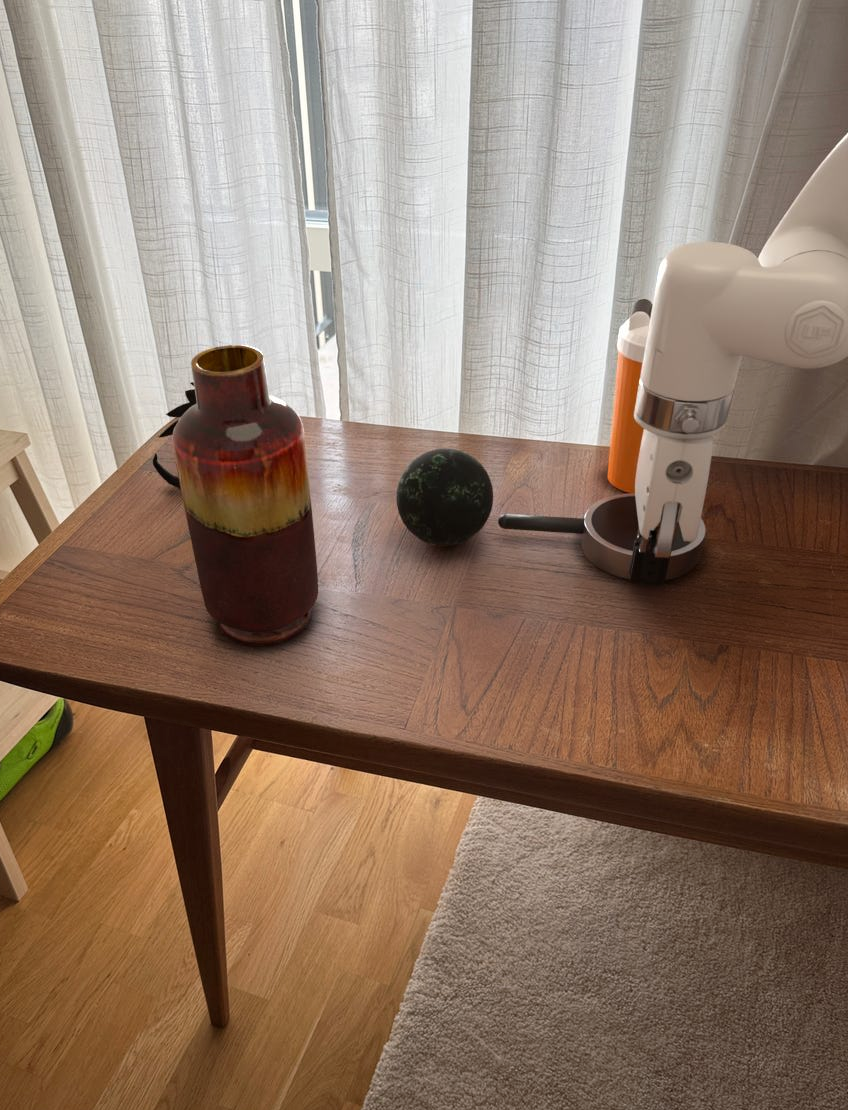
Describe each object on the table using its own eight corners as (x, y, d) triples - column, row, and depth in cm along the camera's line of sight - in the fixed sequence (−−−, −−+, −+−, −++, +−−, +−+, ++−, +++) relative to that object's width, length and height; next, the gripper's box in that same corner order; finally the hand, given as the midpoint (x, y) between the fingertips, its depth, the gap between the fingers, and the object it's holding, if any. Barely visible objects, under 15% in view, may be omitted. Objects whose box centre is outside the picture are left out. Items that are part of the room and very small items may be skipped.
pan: (695, 520, 99) (700, 495, 97) (705, 586, 90) (711, 560, 88) (501, 508, 102) (502, 484, 100) (492, 570, 93) (493, 545, 91)
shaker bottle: (682, 501, 102) (718, 323, 89) (600, 497, 103) (624, 322, 90) (674, 462, 109) (707, 291, 96) (597, 459, 110) (620, 290, 97)
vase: (248, 572, 95) (210, 324, 78) (341, 599, 91) (322, 343, 74) (185, 634, 88) (127, 374, 71) (283, 667, 83) (247, 398, 67)
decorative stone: (399, 566, 95) (396, 481, 88) (395, 515, 102) (393, 433, 96) (496, 563, 94) (501, 477, 88) (485, 511, 102) (489, 429, 96)
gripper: (742, 448, 71) (695, 631, 82) (717, 367, 82) (678, 539, 94) (642, 443, 72) (609, 625, 84) (631, 364, 83) (603, 534, 95)
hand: (646, 579), depth 89 cm, fingers closed
